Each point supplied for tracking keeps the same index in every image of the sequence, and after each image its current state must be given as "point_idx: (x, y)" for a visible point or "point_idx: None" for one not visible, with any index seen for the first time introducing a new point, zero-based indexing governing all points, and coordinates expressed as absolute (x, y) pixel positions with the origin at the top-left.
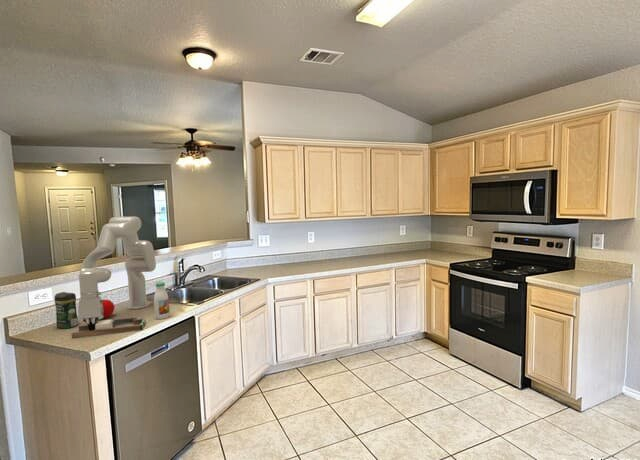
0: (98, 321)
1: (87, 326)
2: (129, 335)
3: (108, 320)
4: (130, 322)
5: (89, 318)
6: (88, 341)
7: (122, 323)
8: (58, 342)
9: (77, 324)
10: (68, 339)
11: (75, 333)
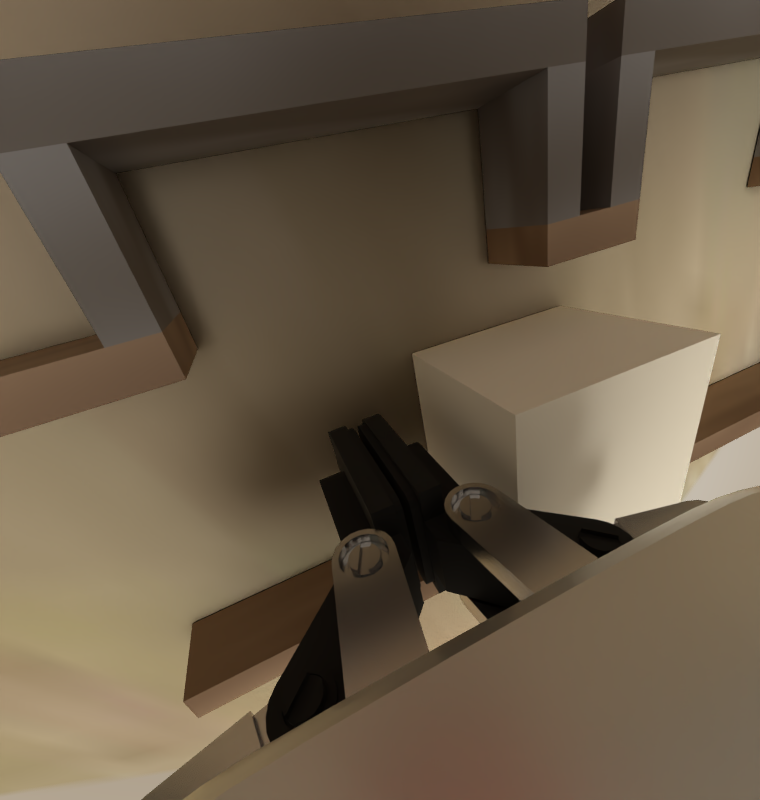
0: (521, 462)
1: (187, 374)
2: (693, 484)
3: (670, 397)
4: (749, 59)
5: (414, 653)
6: (446, 633)
7: (659, 75)
8: (122, 744)
9: None
10: (179, 664)
11: (254, 683)
